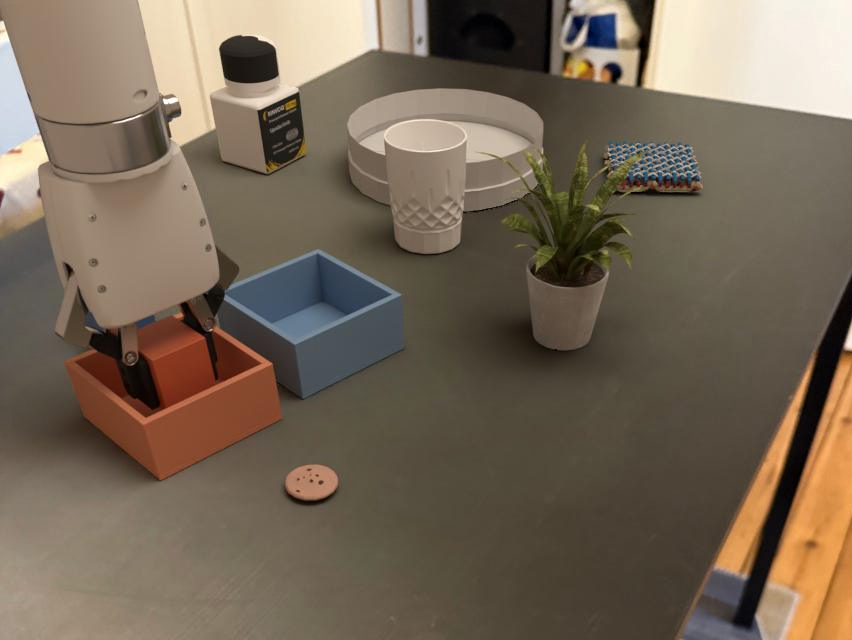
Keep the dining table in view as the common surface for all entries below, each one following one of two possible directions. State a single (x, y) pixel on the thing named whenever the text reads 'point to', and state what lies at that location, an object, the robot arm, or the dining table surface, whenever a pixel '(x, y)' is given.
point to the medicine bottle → (256, 107)
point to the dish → (484, 173)
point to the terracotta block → (175, 360)
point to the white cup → (426, 183)
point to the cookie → (311, 482)
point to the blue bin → (314, 320)
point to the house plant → (569, 251)
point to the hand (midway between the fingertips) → (175, 385)
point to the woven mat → (656, 166)
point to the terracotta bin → (179, 407)
